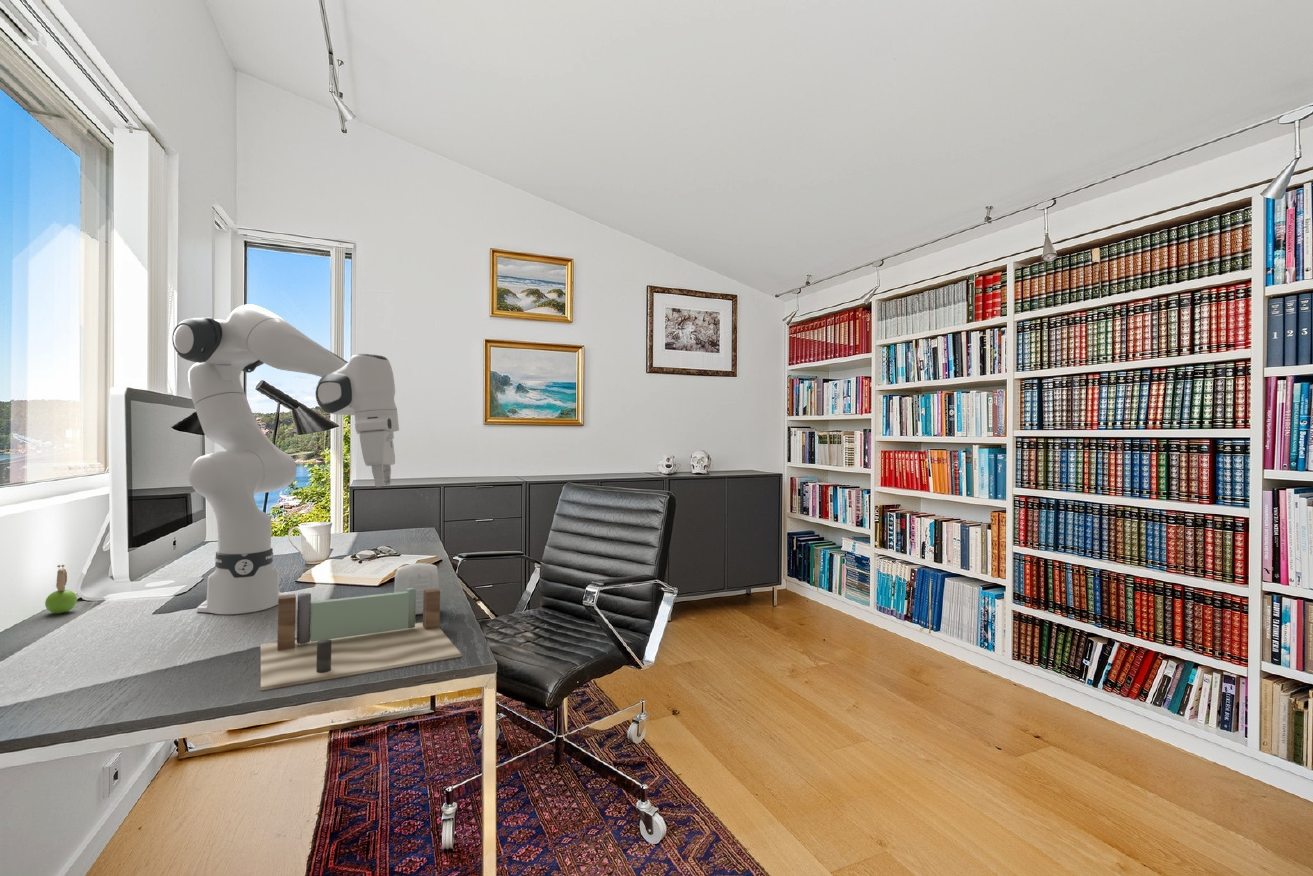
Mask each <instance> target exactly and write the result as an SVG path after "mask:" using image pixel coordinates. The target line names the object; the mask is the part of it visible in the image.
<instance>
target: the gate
mask: <svg viewBox="0 0 1313 876" xmlns="http://www.w3.org/2000/svg"><path fill="white" fill-rule="evenodd" d="M415 608H416V588H408V589H406V591H404V592H395V593H394V592H387V593H378V594H368V595H361V596H351V597H350V596H349V597H343V598H342V597H341V598H331V599H324V600H313V601H312V593H309V592H306V593H305V592H303V593H300V594H297V610H296V611H297V614H296V615H297V617H296V620H297V621H296V640H297V643H298V644H304V643H308V642H310V640H311V642H314V641H320V640H328V639H336V638H343V637H350V636H357V635H364V634H371V633H379V632H386V631H393V630H400V629H407V628H414V627H415V623H416V614H415Z"/></svg>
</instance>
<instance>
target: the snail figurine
mask: <svg viewBox="0 0 1313 876" xmlns="http://www.w3.org/2000/svg"><path fill="white" fill-rule="evenodd" d="M61 567H62V568H61ZM64 567H65V564H62V565H61V564H57V568H59V569H58V571H57V572H56V573H57V576H56V585H55V588H56V590H55V591H53V592H52V593H50V594H49V595H47V597H46V599H45V601H44V606H45V608H46V609H47V610H48V611H49V612H50V613H53V614H64V613H67V612H69V611H71V610H72V609H74V607H75V606H76V605H77V602H78V597H77V594H76V593H75V591H74V592H73V591H72V590H70V589H66V585H67V582H68V572H67V570H66V569H65V568H64Z"/></svg>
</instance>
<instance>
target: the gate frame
mask: <svg viewBox="0 0 1313 876" xmlns="http://www.w3.org/2000/svg"><path fill="white" fill-rule="evenodd" d="M296 601H297V596H296V593H291V594H283V595H280V596H278V605H277V637H276V638H277V640H276V641H277V642H271V643H270V642H269V643H262V644H260V691H266V690H272V689H280V688H284V687H285V688H286V687H290V686H296V685H301V684H308V683H313V682H320V681H325V680H331V679H337V678H343V677H349V676H355V675H362V674H368V673H371V672H372V673H373V672H378V671H385V670H391V669H396V668H403V667H408V666H414V665H419V664H420V665H421V664H427V663H431V662H438V661H444V660H449V659H454V658H455V659H456V658H460V657H462V653H461V651H459V649H458V648H457V647H456V646H455V644H453V642H452V641H451V639H450V638H449V637H448V636H447V635H446V634H445V633H444V631H443V630H442V629H441V628H440V616H441V615H440V613H441V612H440V610H441V609H440V608H441V590H440V589H439V587H438V588H432V589H424V591H423V614H422V622H415V627H414V628H407V629H400V630H393V631H386V632H379V633H371V634H364V635H357V636H350V637H343V638H336V639H328V640H320V641H314V642H311V640H310V642H308V643H304V644H298V643H297V639H296V618H297V617H296V615H297V614H296V611H297V610H296V608H297V607H296V606H297V602H296Z"/></svg>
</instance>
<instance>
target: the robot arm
mask: <svg viewBox="0 0 1313 876" xmlns="http://www.w3.org/2000/svg"><path fill="white" fill-rule="evenodd" d="M171 340H172V346H173V348H174V350H175V352H176V354H177V355H178V356H179V357H180V358H182V359H184V360H186V361H190V362H191V363H192V362H193V363H194V364H193V365H192V366H190V367H189V369H188V373H187V377H188V379H187V380H188V387H189V391H190V397H191V400H192V403H193V407H194V409H195V413H196V414H197V415H196V416H197V418H198V421H199V424H200V426H201V429H202V432H203V434H204V435H205V436H206V438H207V439H209V441H211V442H214V443H215V444H217V445H219V446H221V448H223V449H224V450H223V451H217V452H212V453H208V454H204V455H201V456H199V457H197V458H196V459H194V461H193V462H192V464H191V466H190V469H189V472H188V479H189V482H190V485H191V487H192V489H193V490H194V491H195V492H196V493H197V494H199V495H201V496H202V497H203V498H205V500H207V502H208V504H209V505H210V506H211V508H212V510H213V512H214V515H215V517H216V523H217V524H216V525H217V551H216V552H215V557H214V563H215V565H214V566H215V570H214V571H213V572H212V573H210V575H209V576H207V580H206V584H207V585H206V588H207V589H206V600H204V601H203V602H201V604H199V605H198V606H197V607H196V612H197V613H211V614H216V615H238V614H241V615H242V614H248V613H254V612H260V611H263V610H268V609H270V608H273V607H276V606H278V596H280V595H284V593H282V592H281V591H280V571H279V570H278V569H277V568H276V567H275V566H274V565H273V564H272V563H273V562H274V561H273V559H274V550H273V548H272V519H271V517H270V515H269V514H268V513H266V512H265V511H262V510H261V509H260V508H259V506H257V505H258V504H257V503H256V500H255V494H262V493H272V492H275V491H278V490H281V489H284V488H287V487H289V486H290V485H292V483H293V482H294V480H295V479H296V477H297V465H296V462H295V460H294V458H293V456H291V455H290V454H289V453H287V452H285V451H284V450H282V449H281V448H279V447H277V445H275V444H274V443H273V442H272V441H271V440H270V439H269V437H268V436H267V435H266V434H265V433H264V431H263V430H262V428H261V427H260V426H259V424H258V423H257V420H256V418H255V415H254V414H253V411H252V409H251V406H250V403H249V401H248V399H247V395H246V392H245V390H244V388H243V386H242V383H241V374H242V372H245V373H247V374H248V373H252V372H254V371H255V370H256V369H257V368H258V367H260V366H262V365H264V364H265V365H267V366H269V367H271V368H274V369H277V370H280V371H287V372H295V373H302V374H307V375H312V376H316V377H320V379H319V380H318V381H317V384H316V387H315V393H314V394H315V400H316V402H317V404H318V406H319V409H321V410H322V411H323V412H325V413H327V414H330V415H331V414H332V415H336V416H337V415H339V416H341V415H342V416H354V421H355V423H354V426H355V427H354V428H355V433H356V435H359V442H360V449H361V454H362V459H363V462H364V464H365V466H366V467H371V472H372V476H373V480H374V486H375V487H377V488H380V487H384V486H389V485H391V484H392V482H391V481H392V479H391V478H392V477H391V475H392V467H391V466H394V465H395V464H396V455H395V447H394V440H393V439H395V435H394V434H395V433H394V432H399V431H400V426H399V416H398V415H399V414H398V408H397V405H396V403H395V395H396V385H395V378H394V373H393V368H392V365H391V362H390V360H389V359H388V358H387V357H386V356H384V355H377V354H369V353H356V354H354V355H351V357H350V358H349V361H347V360H346V359H344V358H342V357H340V356H339V355H337V354H335V353H334V352H332V351H330V350H328V349H327V348H326V347H324V346H322V345H321V344H320V343H318V342H316V341H315V340H313V339H312V338H310V337H309V336H307V335H305V334H304V333H302V332H301V331H300V330H298V329H297V328H296V327H294V326H293V325H292V324H290V323H289V322H287V321H286V320H285V319H283V318H282V317H280V316H279V315H277V314H275V313H274V312H272V311H270V310H268V309H266V308H263V307H261V306H259V305H255V304H243V305H240V306H238V307H236V308H235V309H233V311H231V313H230V314H229V316H228V318H227V319H215V318H213V317H193V318H186V319H183V320H181V321H180V322H179V323H178V324H177V325H176V326H175V328H174V329H173V332H172V339H171Z"/></svg>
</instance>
